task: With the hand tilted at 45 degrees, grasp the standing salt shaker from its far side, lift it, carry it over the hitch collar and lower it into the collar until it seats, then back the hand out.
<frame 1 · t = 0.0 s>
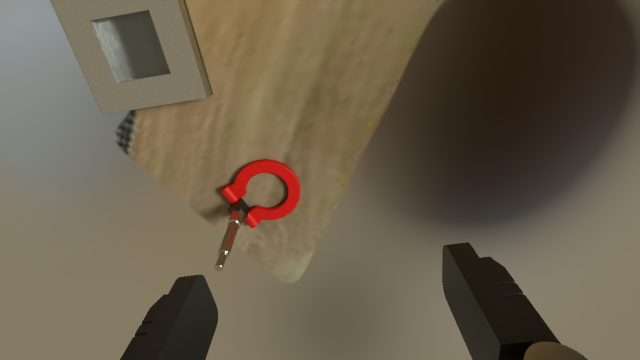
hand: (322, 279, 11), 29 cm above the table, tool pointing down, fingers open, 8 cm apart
hitch collar: (141, 46, 35), on the table
tow hook: (265, 189, 43), on the table
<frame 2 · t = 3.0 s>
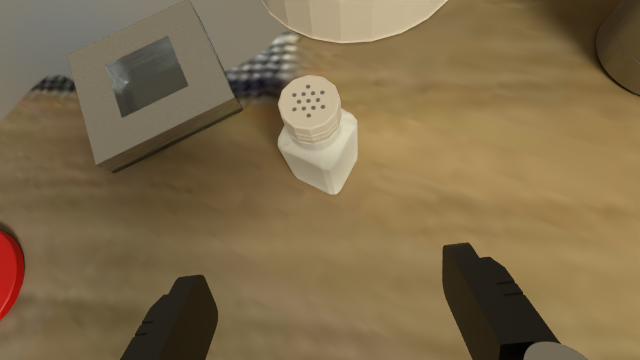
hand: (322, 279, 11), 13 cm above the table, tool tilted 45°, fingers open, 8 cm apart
hitch collar: (159, 88, 30), on the table
salt shaker: (326, 167, 26), on the table
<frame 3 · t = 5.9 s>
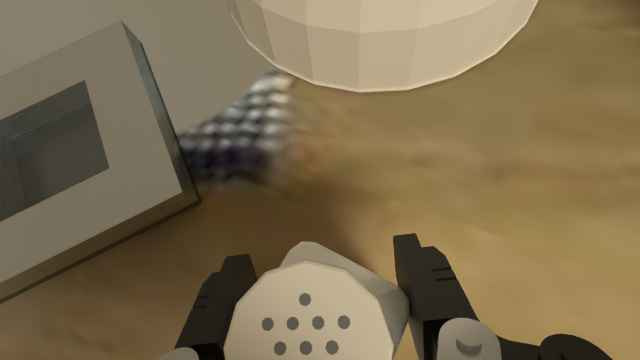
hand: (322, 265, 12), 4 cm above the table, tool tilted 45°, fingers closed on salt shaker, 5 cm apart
hitch collar: (75, 160, 19), on the table
salt shaker: (337, 312, 15), on the table, touching gripper
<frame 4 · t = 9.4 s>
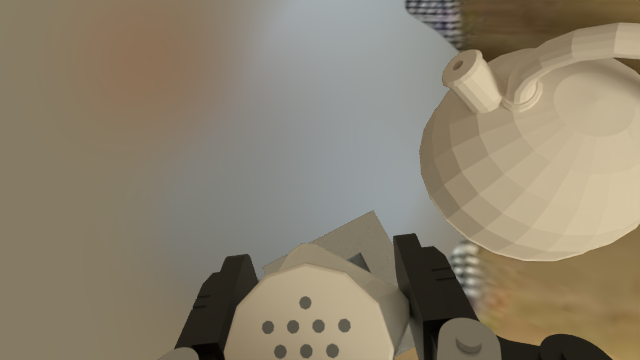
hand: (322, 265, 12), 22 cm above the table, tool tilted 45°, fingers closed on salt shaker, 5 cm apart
hitch collar: (347, 297, 32), on the table
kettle: (517, 161, 34), on the table
salt shaker: (337, 313, 15), point 17 cm above the table, touching gripper
when the fingers open (6 cm above the table, at t = 12.8 s): salt shaker drops 1 cm, resting on hitch collar.
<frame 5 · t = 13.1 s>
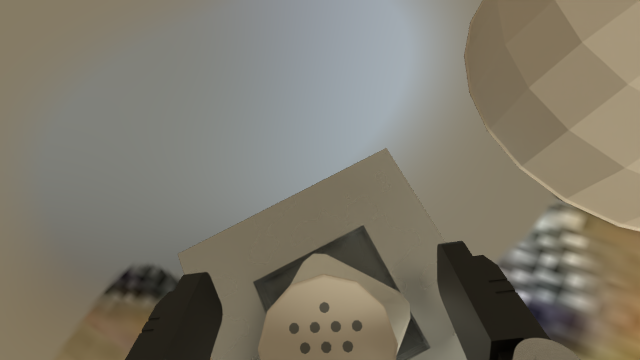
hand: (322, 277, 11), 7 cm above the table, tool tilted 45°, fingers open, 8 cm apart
hitch collar: (339, 310, 17), on the table
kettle: (639, 70, 20), on the table
salt shaker: (343, 314, 17), resting on hitch collar
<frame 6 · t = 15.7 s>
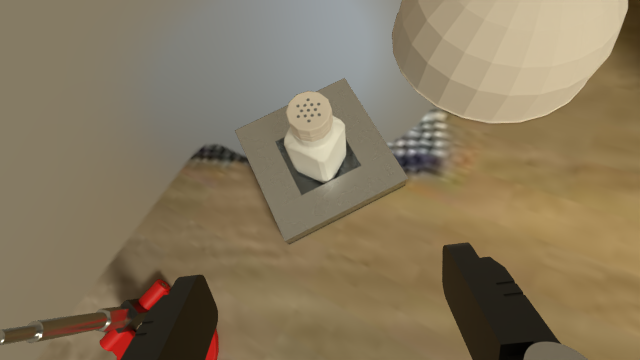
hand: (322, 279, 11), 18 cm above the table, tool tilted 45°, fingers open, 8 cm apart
hitch collar: (319, 161, 32), on the table
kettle: (486, 41, 35), on the table
tow hook: (169, 344, 29), on the table
salt shaker: (321, 162, 32), resting on hitch collar
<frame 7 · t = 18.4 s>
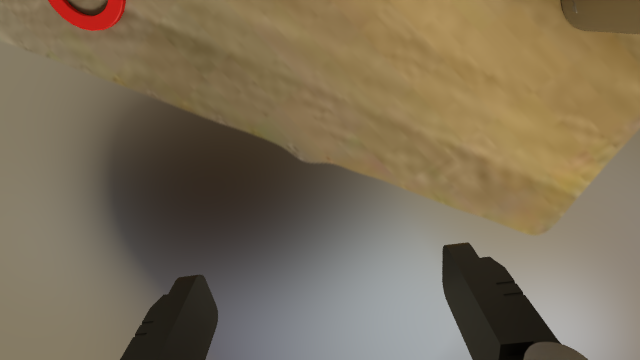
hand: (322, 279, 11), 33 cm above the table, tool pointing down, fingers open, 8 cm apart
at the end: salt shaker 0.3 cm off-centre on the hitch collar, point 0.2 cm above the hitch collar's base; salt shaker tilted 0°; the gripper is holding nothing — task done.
